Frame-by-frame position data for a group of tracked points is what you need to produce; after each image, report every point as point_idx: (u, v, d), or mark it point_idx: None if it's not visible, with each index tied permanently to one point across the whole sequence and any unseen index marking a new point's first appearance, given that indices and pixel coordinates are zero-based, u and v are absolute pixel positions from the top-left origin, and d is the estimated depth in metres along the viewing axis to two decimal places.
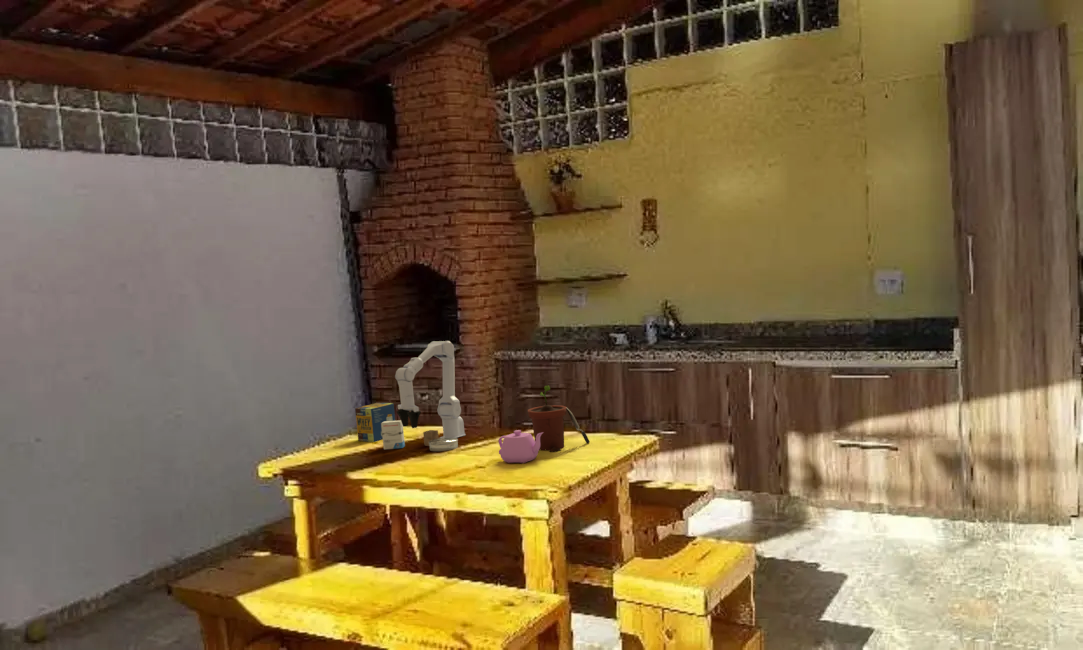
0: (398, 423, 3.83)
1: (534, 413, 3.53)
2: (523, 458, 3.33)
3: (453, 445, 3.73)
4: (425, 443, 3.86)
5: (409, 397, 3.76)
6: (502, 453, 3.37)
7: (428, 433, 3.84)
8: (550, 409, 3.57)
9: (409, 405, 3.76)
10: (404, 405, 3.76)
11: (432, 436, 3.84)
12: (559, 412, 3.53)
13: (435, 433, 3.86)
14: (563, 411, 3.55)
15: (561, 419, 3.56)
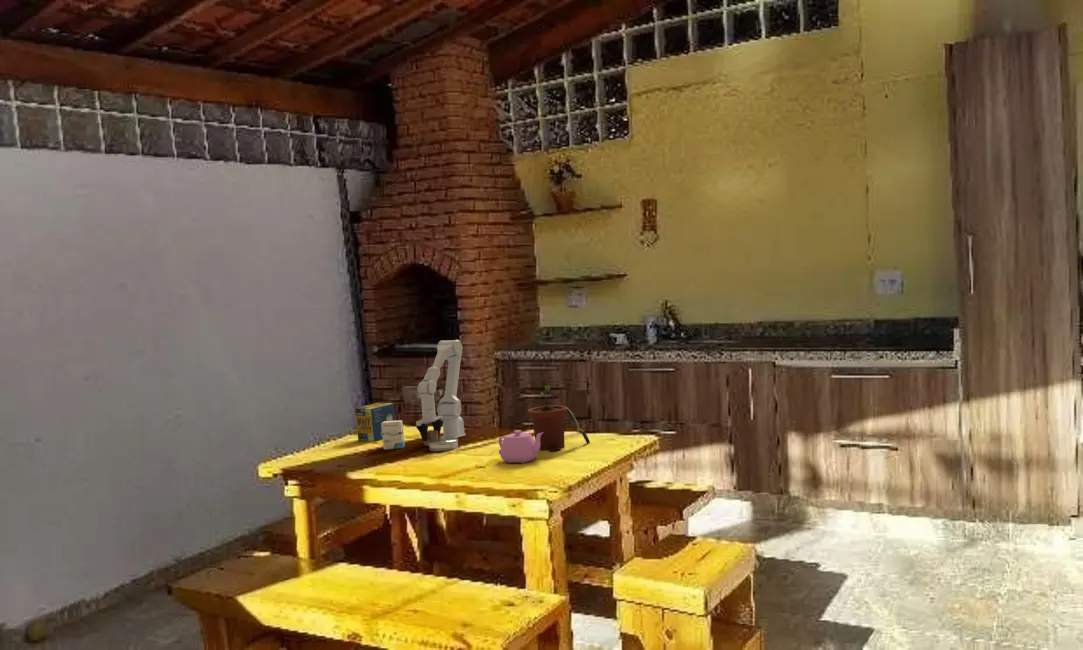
0: (398, 423, 3.83)
1: (534, 413, 3.53)
2: (523, 458, 3.33)
3: (453, 445, 3.73)
4: (425, 443, 3.86)
5: (423, 410, 3.84)
6: (502, 453, 3.37)
7: (428, 433, 3.84)
8: (550, 409, 3.57)
9: (423, 418, 3.84)
10: None
11: (432, 436, 3.84)
12: (559, 412, 3.53)
13: (435, 433, 3.86)
14: (563, 411, 3.55)
15: (561, 419, 3.56)
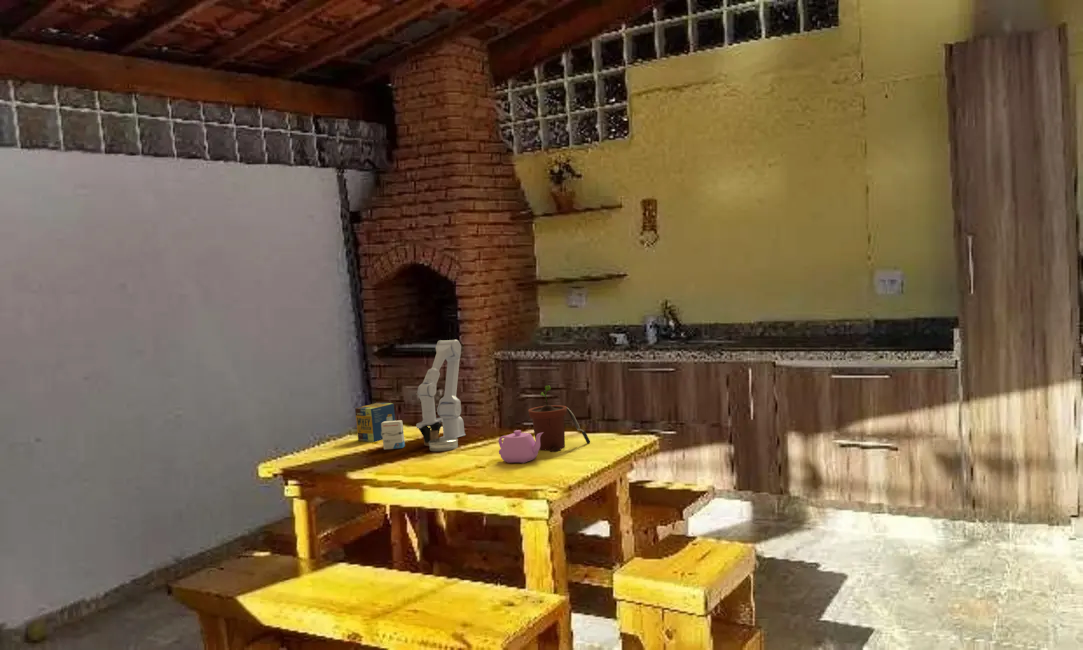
0: (398, 423, 3.83)
1: (535, 413, 3.53)
2: (523, 458, 3.33)
3: (453, 445, 3.73)
4: (425, 443, 3.86)
5: (423, 413, 3.84)
6: (502, 453, 3.37)
7: None
8: (551, 409, 3.57)
9: (423, 420, 3.84)
10: None
11: (432, 436, 3.84)
12: (560, 412, 3.53)
13: (435, 433, 3.86)
14: (564, 411, 3.55)
15: (562, 419, 3.56)
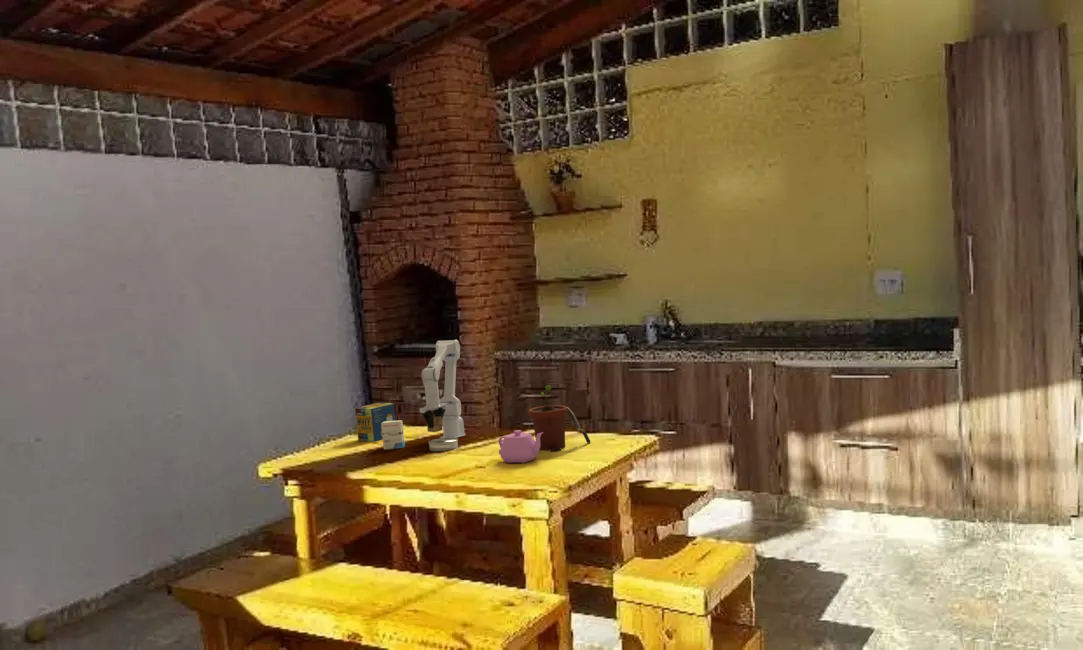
0: (398, 423, 3.83)
1: (535, 413, 3.53)
2: (523, 458, 3.33)
3: (453, 445, 3.73)
4: (428, 429, 3.81)
5: (427, 397, 3.79)
6: (502, 453, 3.37)
7: None
8: (551, 409, 3.57)
9: (427, 405, 3.80)
10: None
11: (435, 422, 3.79)
12: (560, 412, 3.53)
13: (438, 419, 3.81)
14: (564, 411, 3.55)
15: (562, 419, 3.56)
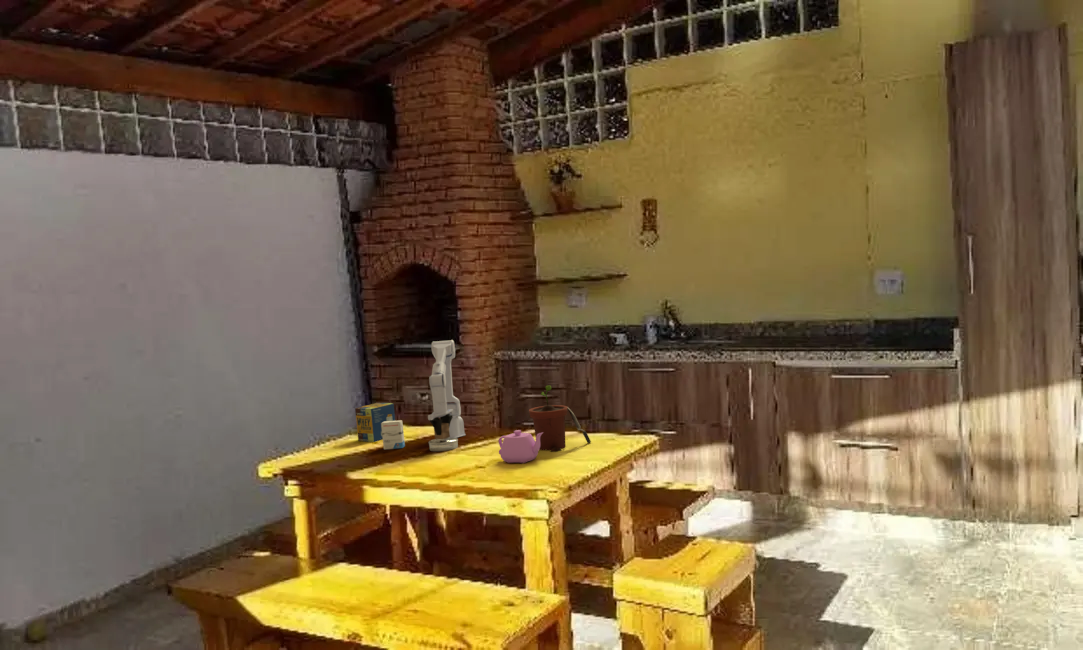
0: (398, 423, 3.83)
1: (535, 413, 3.54)
2: (523, 458, 3.33)
3: (453, 445, 3.73)
4: (436, 436, 3.76)
5: (434, 404, 3.74)
6: (502, 453, 3.37)
7: None
8: (551, 409, 3.57)
9: (435, 412, 3.74)
10: None
11: (443, 429, 3.74)
12: (560, 412, 3.53)
13: (446, 426, 3.76)
14: (564, 411, 3.55)
15: (562, 419, 3.56)
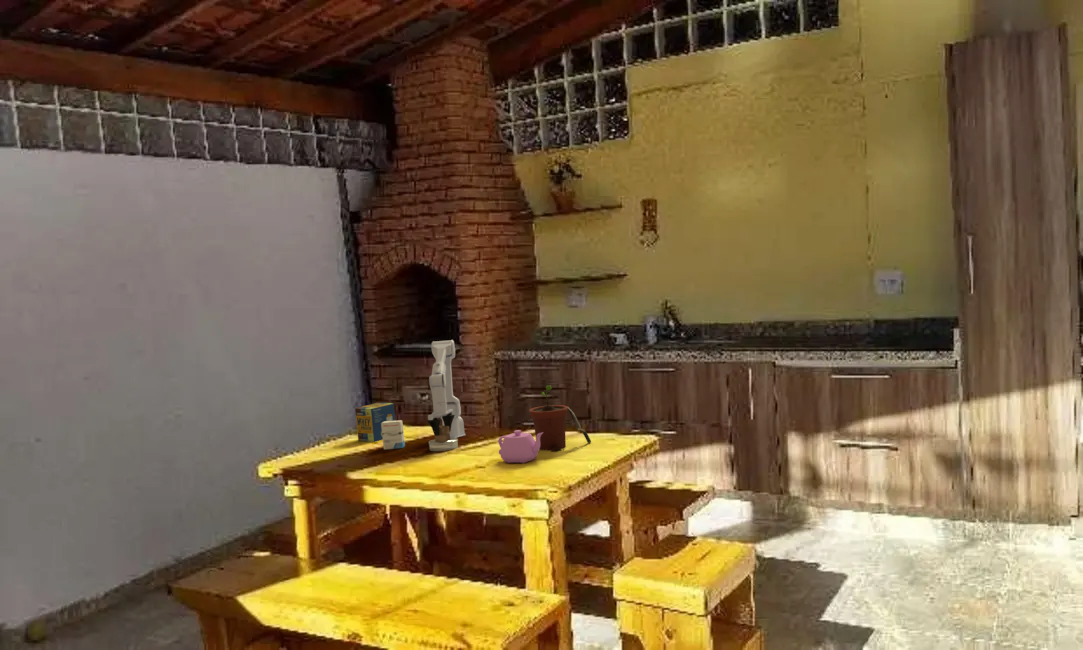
0: (398, 423, 3.83)
1: (535, 413, 3.54)
2: (523, 458, 3.33)
3: (453, 445, 3.73)
4: (436, 439, 3.76)
5: (434, 404, 3.74)
6: (502, 453, 3.37)
7: (439, 429, 3.74)
8: (551, 409, 3.57)
9: (435, 412, 3.74)
10: None
11: (444, 432, 3.74)
12: (560, 412, 3.53)
13: (446, 429, 3.76)
14: (564, 411, 3.55)
15: (562, 419, 3.56)
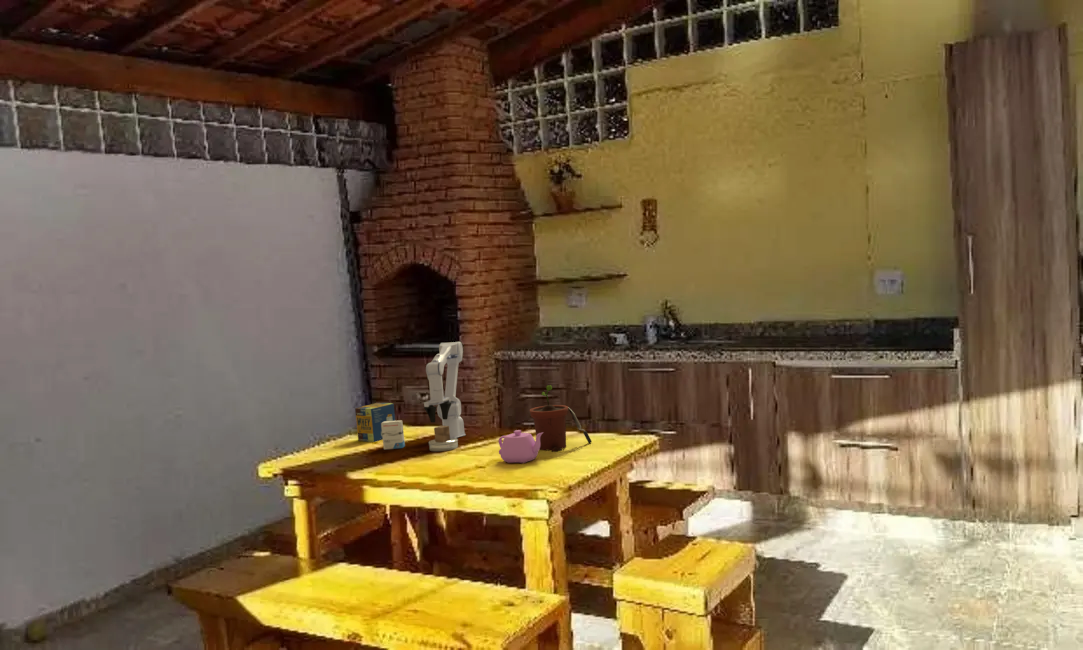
0: (398, 423, 3.83)
1: (536, 413, 3.54)
2: (523, 458, 3.33)
3: (453, 445, 3.73)
4: (436, 439, 3.76)
5: (431, 391, 3.82)
6: (502, 453, 3.37)
7: (439, 429, 3.74)
8: (552, 409, 3.57)
9: (431, 399, 3.83)
10: None
11: (444, 432, 3.74)
12: (561, 412, 3.53)
13: (446, 429, 3.76)
14: (565, 411, 3.55)
15: (563, 419, 3.56)
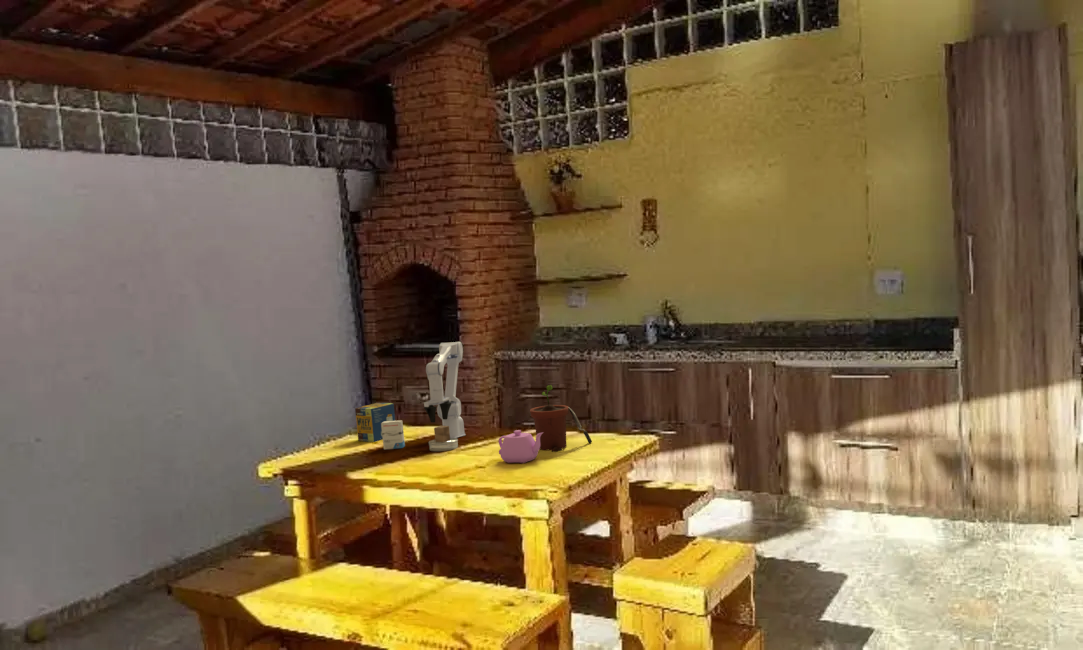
0: (398, 423, 3.83)
1: (536, 413, 3.54)
2: (523, 458, 3.33)
3: (453, 445, 3.73)
4: (436, 439, 3.76)
5: (431, 391, 3.82)
6: (502, 453, 3.37)
7: (439, 429, 3.74)
8: (552, 409, 3.57)
9: (431, 399, 3.83)
10: None
11: (444, 432, 3.74)
12: (561, 412, 3.54)
13: (446, 429, 3.76)
14: (565, 411, 3.55)
15: (563, 419, 3.56)
